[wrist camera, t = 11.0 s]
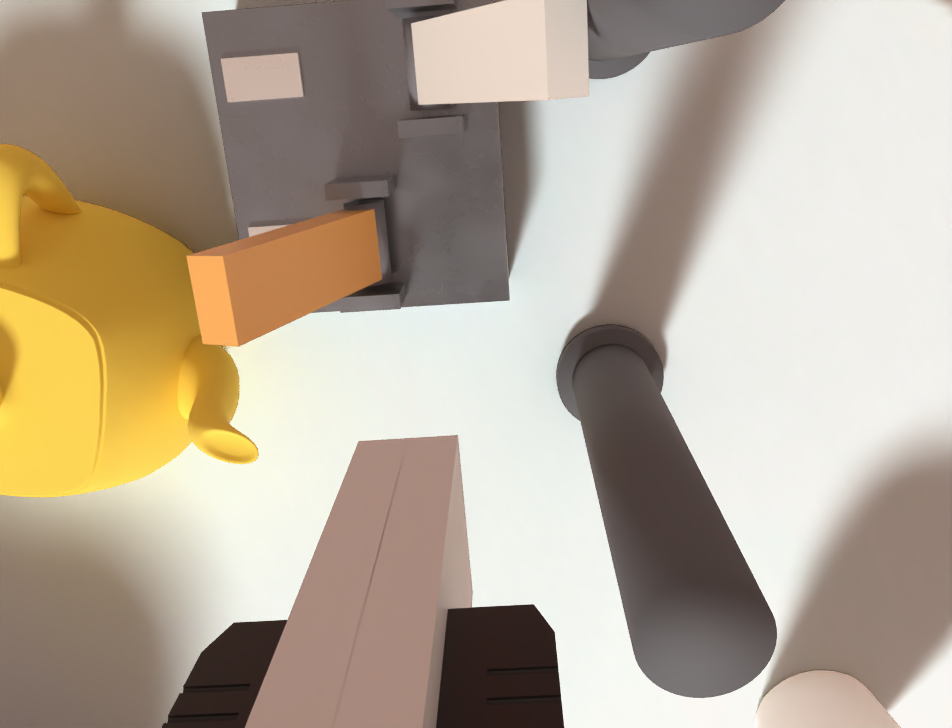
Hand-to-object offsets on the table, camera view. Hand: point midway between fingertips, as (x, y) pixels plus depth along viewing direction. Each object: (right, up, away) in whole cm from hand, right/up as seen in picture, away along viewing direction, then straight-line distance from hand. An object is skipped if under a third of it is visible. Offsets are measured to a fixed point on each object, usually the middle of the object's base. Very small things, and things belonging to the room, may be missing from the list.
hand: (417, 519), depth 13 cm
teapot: (-17, +6, +27) cm, 33 cm away
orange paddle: (-3, +7, +20) cm, 22 cm away
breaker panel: (-3, +12, +24) cm, 27 cm away
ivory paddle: (-1, +14, +18) cm, 23 cm away
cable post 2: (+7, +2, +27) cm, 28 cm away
